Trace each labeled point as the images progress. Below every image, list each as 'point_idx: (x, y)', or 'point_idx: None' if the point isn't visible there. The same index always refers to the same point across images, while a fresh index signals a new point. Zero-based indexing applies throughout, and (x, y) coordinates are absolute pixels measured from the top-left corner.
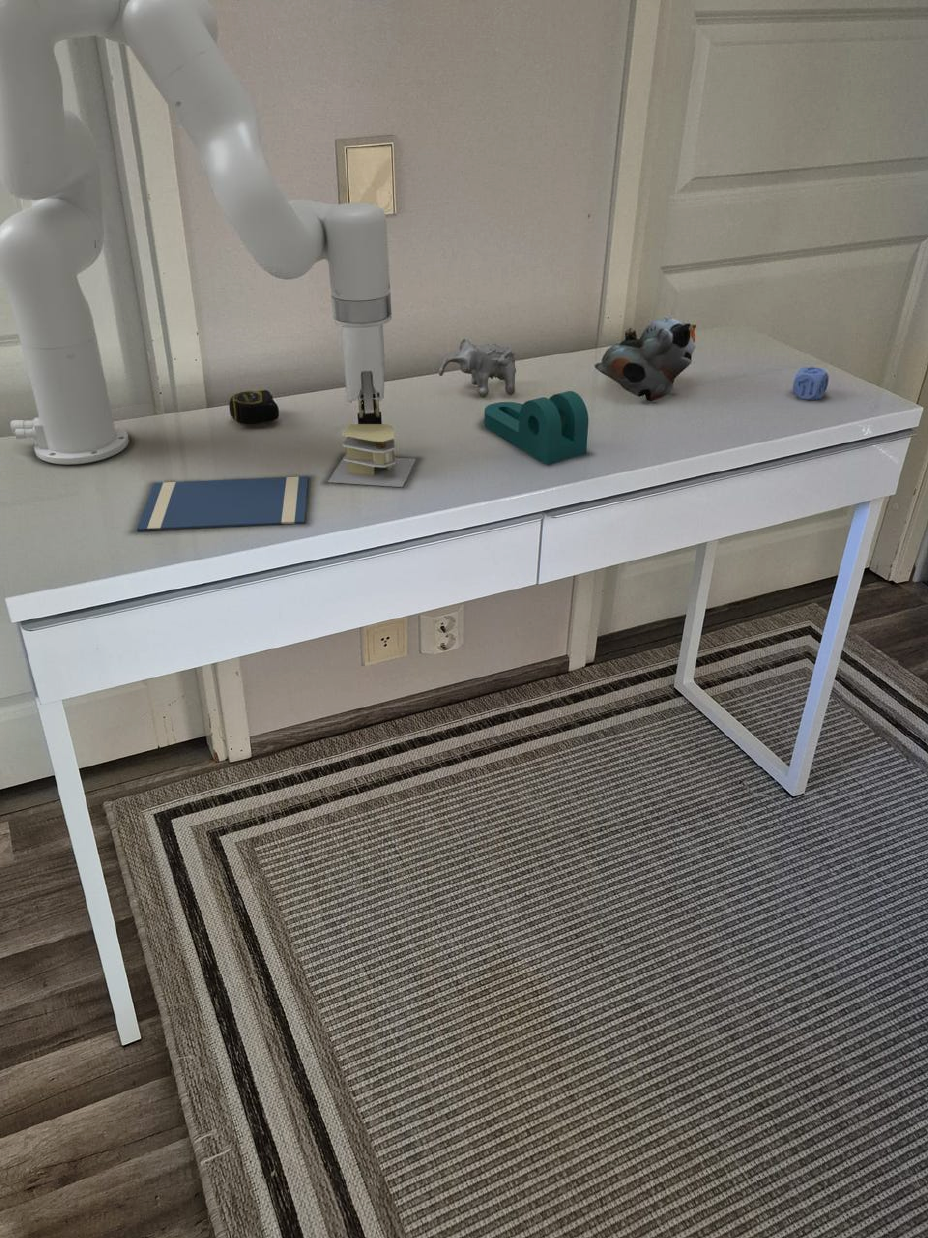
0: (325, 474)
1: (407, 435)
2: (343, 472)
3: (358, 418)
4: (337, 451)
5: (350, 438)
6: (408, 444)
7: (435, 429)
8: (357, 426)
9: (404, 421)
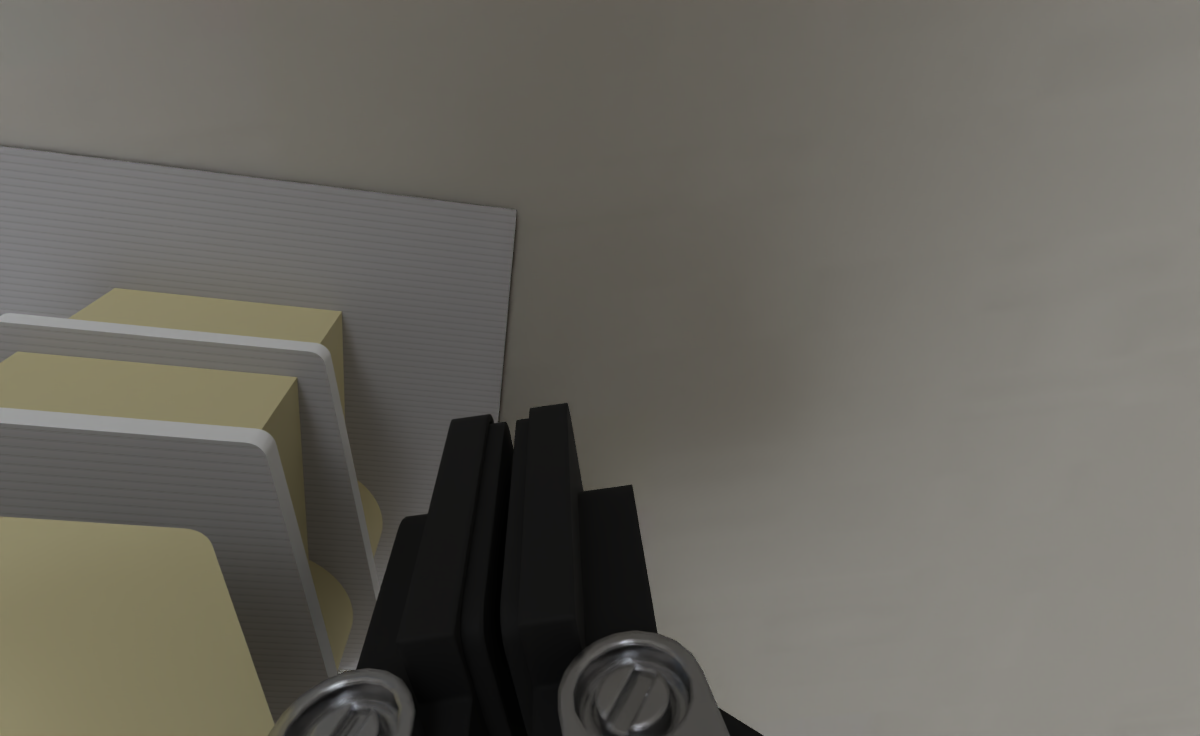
0: (23, 70)
1: (881, 593)
2: (111, 247)
3: (402, 631)
4: (605, 120)
5: (81, 473)
6: (725, 613)
7: (944, 712)
8: (154, 631)
9: (1139, 554)
